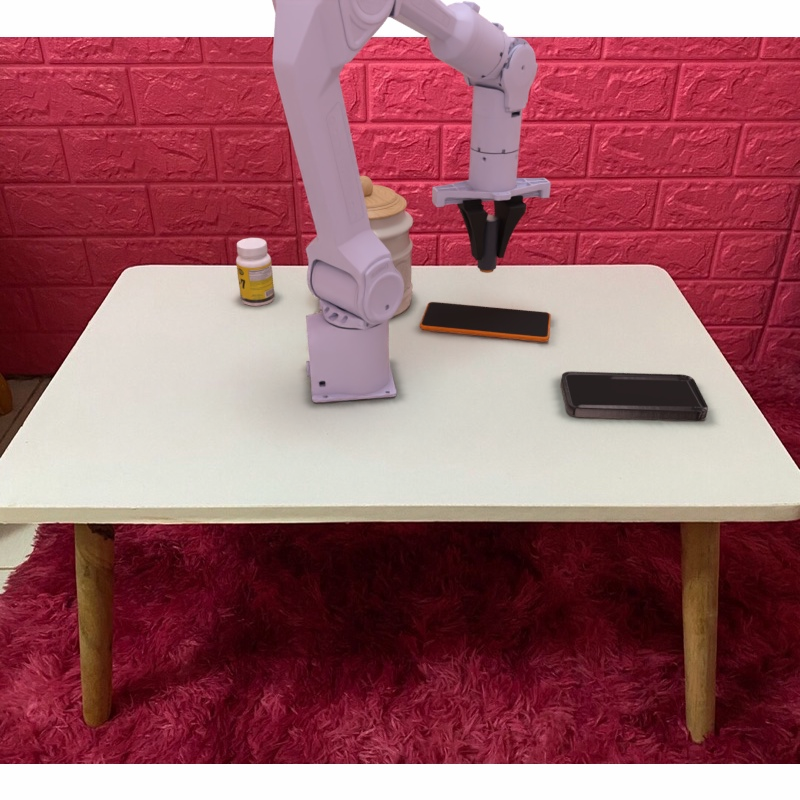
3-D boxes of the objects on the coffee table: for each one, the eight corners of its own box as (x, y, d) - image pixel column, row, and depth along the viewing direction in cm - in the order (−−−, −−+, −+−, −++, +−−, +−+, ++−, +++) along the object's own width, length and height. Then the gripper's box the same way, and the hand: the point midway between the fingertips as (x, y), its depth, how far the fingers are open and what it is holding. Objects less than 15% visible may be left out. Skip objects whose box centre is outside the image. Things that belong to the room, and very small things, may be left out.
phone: (710, 412, 82) (569, 407, 83) (708, 421, 83) (568, 416, 84) (691, 374, 89) (560, 370, 90) (689, 382, 90) (559, 378, 90)
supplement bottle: (238, 294, 110) (231, 238, 105) (271, 290, 111) (266, 234, 106) (243, 308, 106) (236, 251, 101) (277, 304, 107) (272, 247, 103)
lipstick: (480, 274, 98) (484, 221, 94) (474, 267, 100) (477, 215, 96) (498, 272, 98) (502, 219, 95) (492, 265, 100) (495, 213, 96)
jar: (312, 288, 112) (303, 165, 102) (398, 278, 114) (398, 158, 105) (329, 328, 101) (321, 196, 91) (424, 316, 104) (426, 187, 94)
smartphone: (548, 343, 97) (549, 337, 97) (418, 331, 100) (418, 325, 100) (550, 316, 104) (551, 310, 103) (428, 305, 106) (428, 300, 106)
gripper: (445, 161, 86) (441, 274, 93) (565, 152, 89) (553, 262, 96) (428, 144, 92) (425, 252, 99) (541, 137, 95) (531, 242, 102)
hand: (487, 256), depth 98 cm, fingers closed on lipstick, 2 cm apart
